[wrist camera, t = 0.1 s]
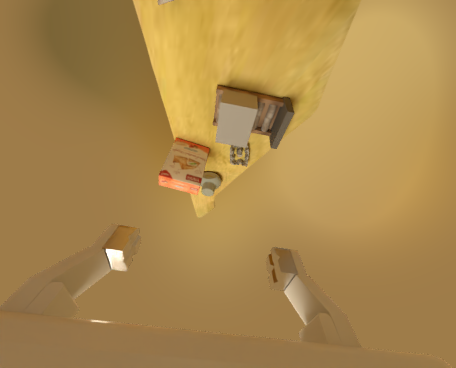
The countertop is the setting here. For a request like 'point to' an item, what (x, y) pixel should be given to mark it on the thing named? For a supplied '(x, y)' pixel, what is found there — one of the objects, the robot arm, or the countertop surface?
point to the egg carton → (239, 155)
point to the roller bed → (264, 114)
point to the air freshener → (210, 183)
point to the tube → (163, 1)
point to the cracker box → (184, 166)
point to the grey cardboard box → (236, 118)
